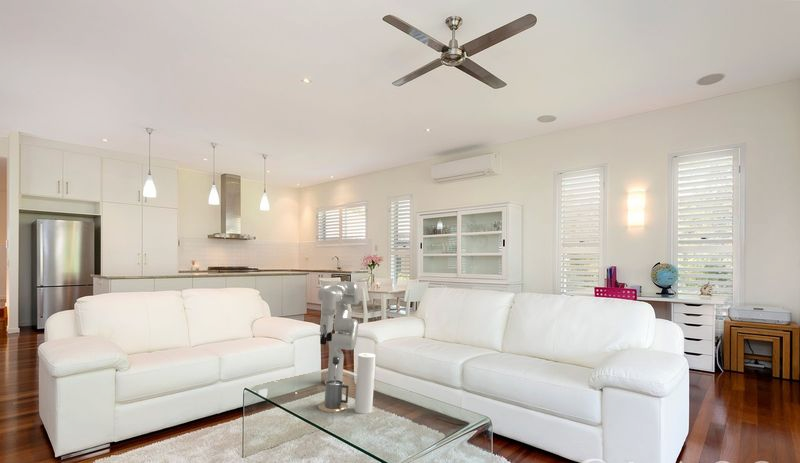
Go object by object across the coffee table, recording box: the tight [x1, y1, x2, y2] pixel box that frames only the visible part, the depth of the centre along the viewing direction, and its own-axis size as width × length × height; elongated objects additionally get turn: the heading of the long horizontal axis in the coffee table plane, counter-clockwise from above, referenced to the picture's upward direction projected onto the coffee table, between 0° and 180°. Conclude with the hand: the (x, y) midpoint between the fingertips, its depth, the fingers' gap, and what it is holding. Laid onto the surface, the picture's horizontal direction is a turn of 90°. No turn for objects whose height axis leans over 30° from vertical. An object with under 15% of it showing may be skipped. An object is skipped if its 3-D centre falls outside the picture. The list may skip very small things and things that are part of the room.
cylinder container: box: [354, 352, 377, 415], centre depth 228 cm, size 9×9×30 cm
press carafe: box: [317, 380, 350, 413], centre depth 230 cm, size 16×16×13 cm
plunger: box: [328, 357, 340, 385], centre depth 230 cm, size 7×7×15 cm
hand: (326, 342), depth 238 cm, fingers open, 9 cm apart
